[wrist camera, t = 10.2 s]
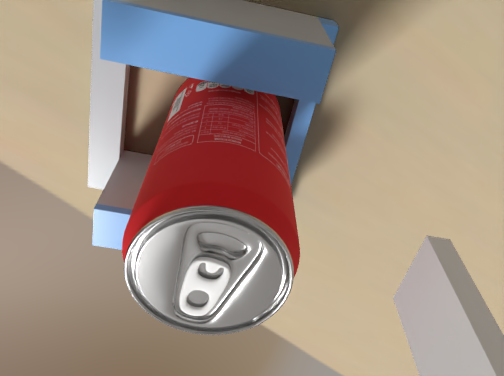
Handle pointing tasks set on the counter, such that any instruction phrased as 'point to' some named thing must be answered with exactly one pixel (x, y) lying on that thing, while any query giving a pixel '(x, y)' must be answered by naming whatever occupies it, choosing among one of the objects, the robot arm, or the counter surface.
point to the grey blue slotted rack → (194, 66)
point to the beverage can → (214, 214)
